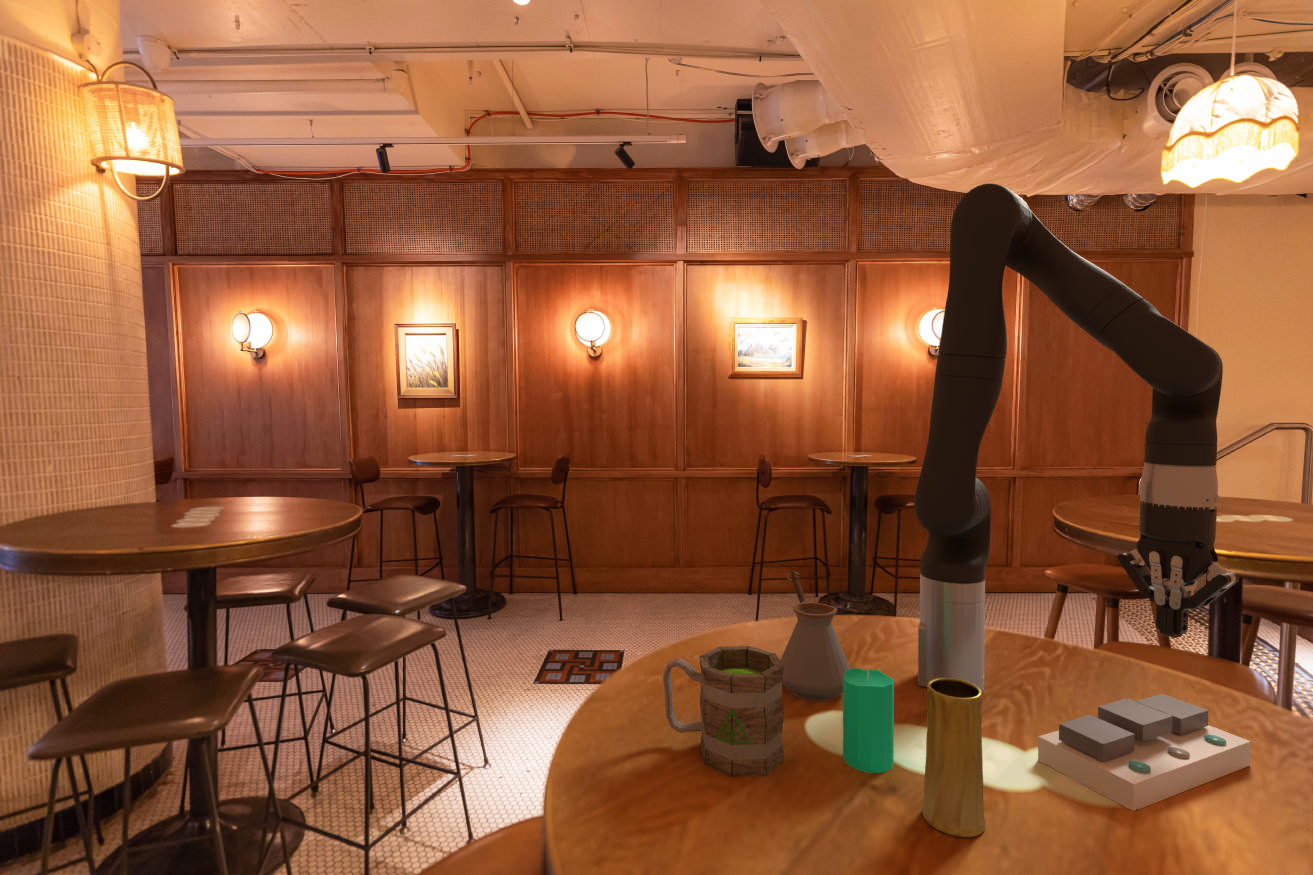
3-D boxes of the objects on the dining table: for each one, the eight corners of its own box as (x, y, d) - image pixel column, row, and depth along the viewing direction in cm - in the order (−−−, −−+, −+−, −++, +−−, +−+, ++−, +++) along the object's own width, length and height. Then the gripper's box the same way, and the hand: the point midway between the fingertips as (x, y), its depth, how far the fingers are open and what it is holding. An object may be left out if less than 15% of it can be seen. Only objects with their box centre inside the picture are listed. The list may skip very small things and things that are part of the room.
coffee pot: (863, 706, 94) (863, 605, 93) (785, 708, 94) (784, 606, 93) (824, 651, 115) (824, 568, 114) (760, 652, 115) (760, 569, 114)
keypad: (1133, 811, 69) (1133, 781, 69) (1038, 759, 79) (1038, 733, 79) (1249, 765, 78) (1250, 738, 77) (1150, 724, 88) (1150, 700, 88)
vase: (911, 803, 71) (912, 676, 70) (964, 800, 71) (965, 674, 71) (940, 840, 65) (941, 702, 64) (998, 836, 65) (1000, 699, 65)
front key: (1102, 761, 73) (1103, 744, 73) (1058, 739, 78) (1059, 723, 78) (1134, 750, 75) (1134, 733, 75) (1089, 730, 80) (1089, 714, 80)
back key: (1180, 734, 78) (1181, 718, 78) (1135, 716, 83) (1135, 701, 83) (1207, 725, 81) (1208, 710, 81) (1162, 707, 85) (1162, 693, 85)
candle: (897, 775, 76) (898, 676, 76) (845, 770, 77) (845, 672, 77) (889, 749, 82) (890, 657, 82) (841, 744, 83) (841, 653, 83)
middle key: (1142, 741, 76) (1143, 725, 76) (1097, 722, 80) (1098, 706, 80) (1172, 732, 78) (1172, 715, 78) (1126, 713, 83) (1127, 698, 82)
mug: (789, 739, 85) (789, 650, 84) (777, 785, 75) (777, 684, 74) (676, 721, 90) (675, 637, 89) (650, 762, 80) (649, 667, 79)
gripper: (1103, 494, 85) (1098, 622, 86) (1223, 510, 73) (1215, 659, 74) (1139, 491, 88) (1134, 615, 89) (1260, 506, 76) (1252, 649, 77)
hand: (1171, 635), depth 82 cm, fingers closed
